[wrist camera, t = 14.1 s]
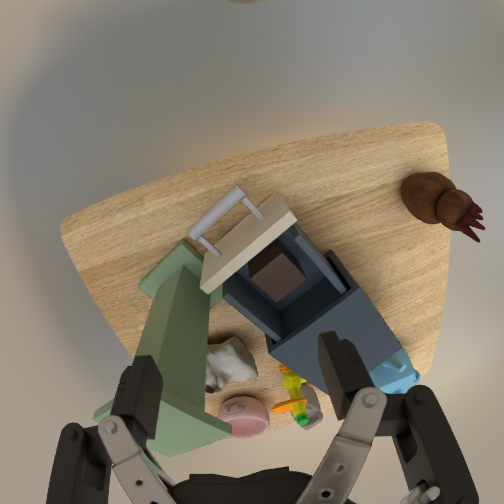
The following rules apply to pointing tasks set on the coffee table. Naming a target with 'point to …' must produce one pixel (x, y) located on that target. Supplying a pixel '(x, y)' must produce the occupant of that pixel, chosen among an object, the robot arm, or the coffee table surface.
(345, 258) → the coffee table surface
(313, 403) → the fossil
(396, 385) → the teapot
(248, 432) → the mug
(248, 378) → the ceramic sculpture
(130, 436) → the robot arm
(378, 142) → the coffee table surface
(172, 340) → the stand
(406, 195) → the wooden figurine
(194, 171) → the coffee table surface
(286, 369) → the toy figure
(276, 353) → the cabinet
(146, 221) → the coffee table surface
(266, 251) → the block
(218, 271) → the drawer
